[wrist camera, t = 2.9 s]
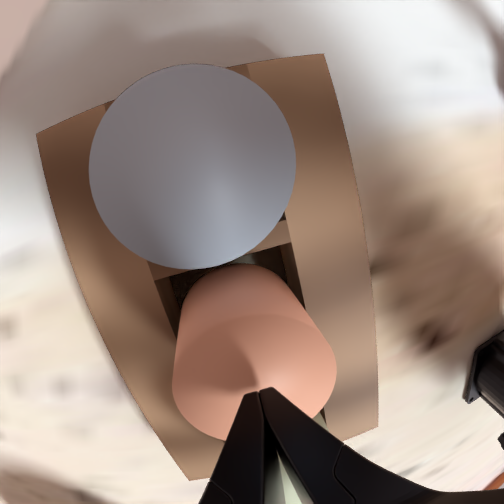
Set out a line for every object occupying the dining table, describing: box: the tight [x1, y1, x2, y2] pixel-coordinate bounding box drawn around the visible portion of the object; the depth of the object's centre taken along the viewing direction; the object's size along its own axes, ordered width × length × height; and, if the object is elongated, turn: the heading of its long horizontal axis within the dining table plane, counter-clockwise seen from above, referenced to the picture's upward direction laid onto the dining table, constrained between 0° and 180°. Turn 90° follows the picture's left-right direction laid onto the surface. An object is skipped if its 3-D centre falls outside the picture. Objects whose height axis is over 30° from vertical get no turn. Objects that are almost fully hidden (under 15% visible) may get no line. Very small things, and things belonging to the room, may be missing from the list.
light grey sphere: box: [89, 64, 296, 269], centre depth 9 cm, size 5×5×5 cm
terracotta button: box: [172, 263, 337, 441], centre depth 11 cm, size 5×5×5 cm
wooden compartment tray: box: [36, 54, 378, 481], centre depth 15 cm, size 20×12×3 cm, turn 14°
